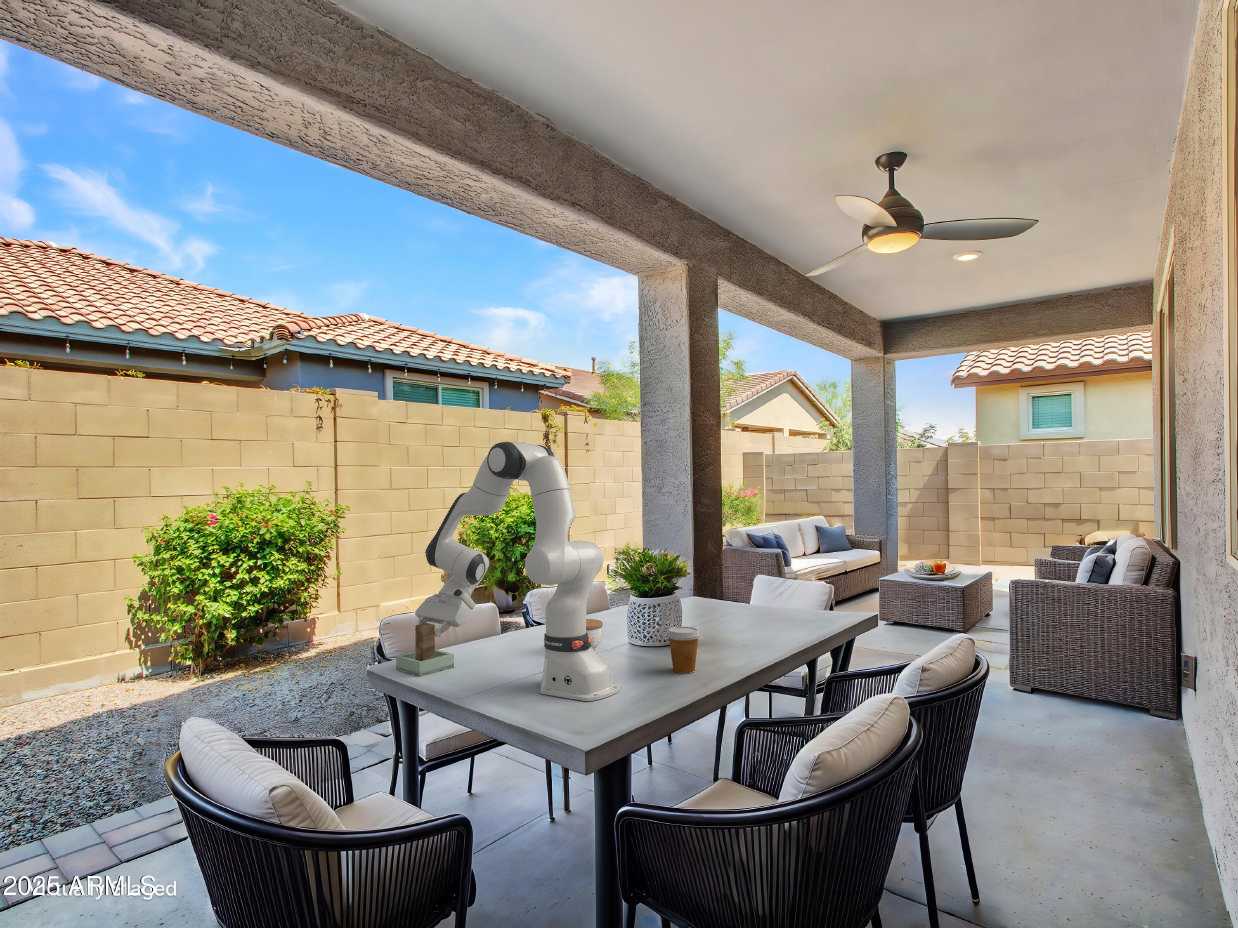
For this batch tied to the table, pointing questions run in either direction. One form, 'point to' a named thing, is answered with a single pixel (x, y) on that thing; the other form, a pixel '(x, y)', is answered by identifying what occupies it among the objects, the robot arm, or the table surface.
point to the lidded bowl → (594, 631)
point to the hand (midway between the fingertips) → (426, 633)
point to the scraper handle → (424, 642)
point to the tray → (424, 663)
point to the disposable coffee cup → (683, 648)
